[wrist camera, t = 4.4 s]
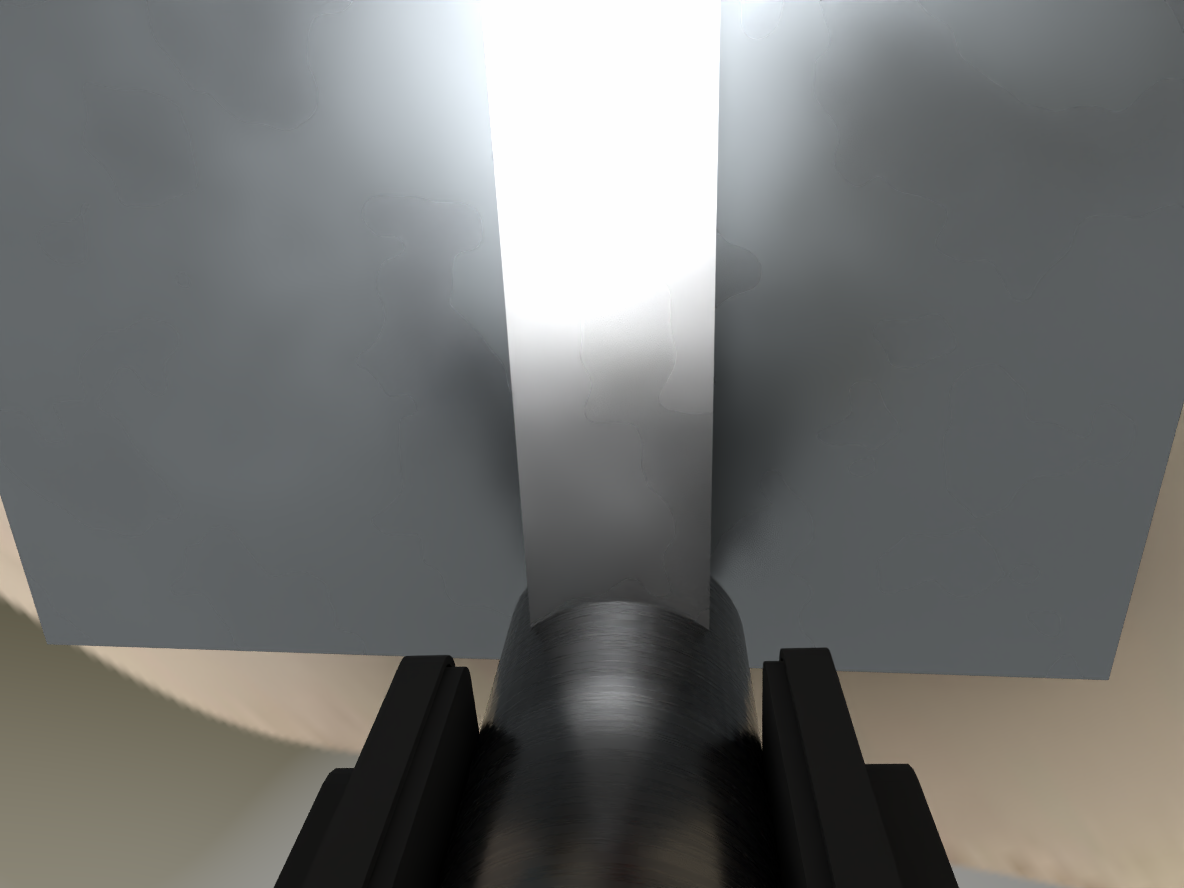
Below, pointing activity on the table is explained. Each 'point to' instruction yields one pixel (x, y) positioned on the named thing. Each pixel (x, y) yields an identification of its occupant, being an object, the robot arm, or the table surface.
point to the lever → (613, 470)
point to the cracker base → (480, 340)
